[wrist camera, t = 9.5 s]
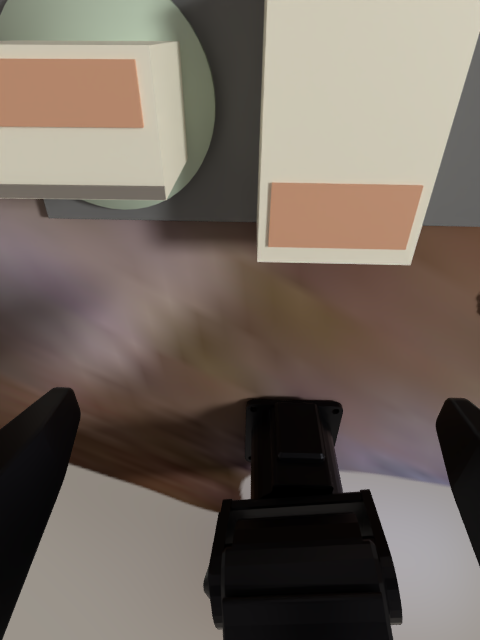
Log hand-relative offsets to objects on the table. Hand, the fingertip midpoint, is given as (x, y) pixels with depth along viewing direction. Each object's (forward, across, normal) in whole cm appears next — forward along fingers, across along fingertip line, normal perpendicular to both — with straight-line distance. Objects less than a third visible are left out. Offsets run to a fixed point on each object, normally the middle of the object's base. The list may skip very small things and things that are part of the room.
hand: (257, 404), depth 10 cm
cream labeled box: (+11, -3, -4) cm, 13 cm away
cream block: (+11, +6, -5) cm, 13 cm away
